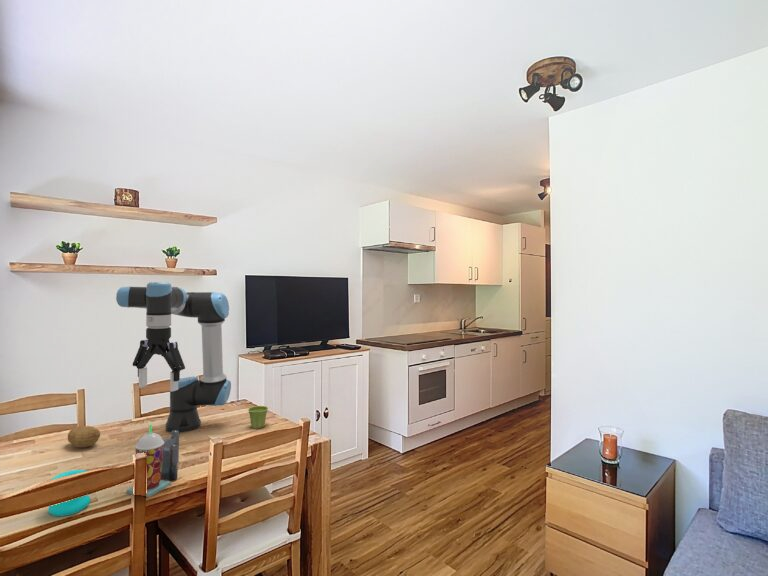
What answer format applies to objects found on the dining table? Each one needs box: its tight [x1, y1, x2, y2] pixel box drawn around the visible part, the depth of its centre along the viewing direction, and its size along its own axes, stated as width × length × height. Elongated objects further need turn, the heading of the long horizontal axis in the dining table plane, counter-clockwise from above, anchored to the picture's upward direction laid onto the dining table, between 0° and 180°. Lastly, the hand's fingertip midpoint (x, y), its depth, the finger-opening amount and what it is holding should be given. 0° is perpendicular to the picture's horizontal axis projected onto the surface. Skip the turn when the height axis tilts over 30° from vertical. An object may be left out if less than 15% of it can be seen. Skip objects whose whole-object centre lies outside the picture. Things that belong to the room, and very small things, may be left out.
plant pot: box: [247, 405, 269, 430], centre depth 197 cm, size 9×9×9 cm
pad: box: [126, 479, 172, 498], centre depth 135 cm, size 9×9×1 cm
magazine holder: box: [161, 430, 180, 482], centre depth 149 cm, size 13×14×12 cm
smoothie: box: [134, 424, 164, 489], centre depth 135 cm, size 8×8×20 cm
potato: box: [67, 425, 101, 448], centre depth 169 cm, size 10×14×8 cm
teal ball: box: [47, 469, 91, 517], centre depth 122 cm, size 10×10×10 cm
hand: (158, 388), depth 141 cm, fingers open, 13 cm apart
